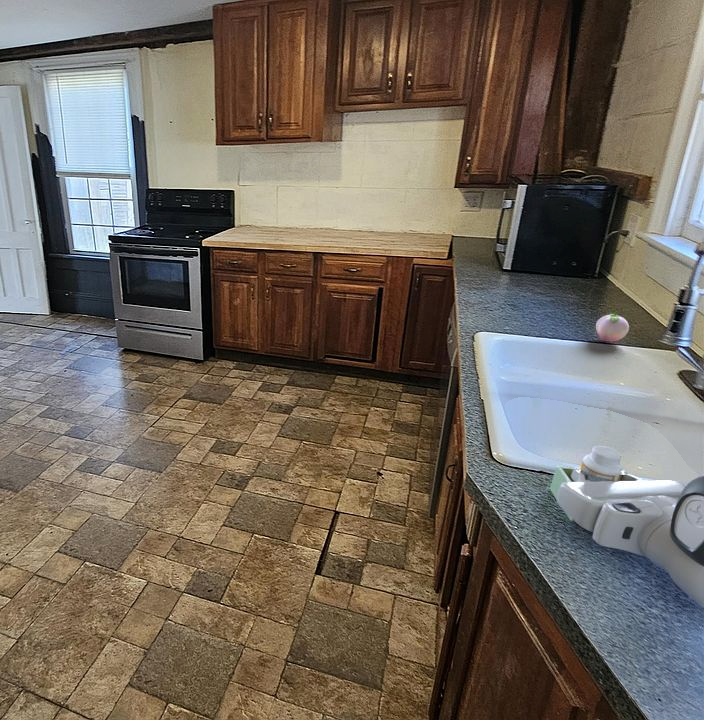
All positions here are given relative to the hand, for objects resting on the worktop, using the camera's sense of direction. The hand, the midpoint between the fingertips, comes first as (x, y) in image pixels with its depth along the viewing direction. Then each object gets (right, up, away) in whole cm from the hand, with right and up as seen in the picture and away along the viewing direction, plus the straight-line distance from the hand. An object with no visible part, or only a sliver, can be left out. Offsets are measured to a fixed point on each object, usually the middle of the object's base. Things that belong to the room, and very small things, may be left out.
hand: (595, 472), depth 90 cm
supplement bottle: (0, -6, +1) cm, 6 cm away
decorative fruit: (+60, +25, +79) cm, 102 cm away
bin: (0, -7, +2) cm, 7 cm away
